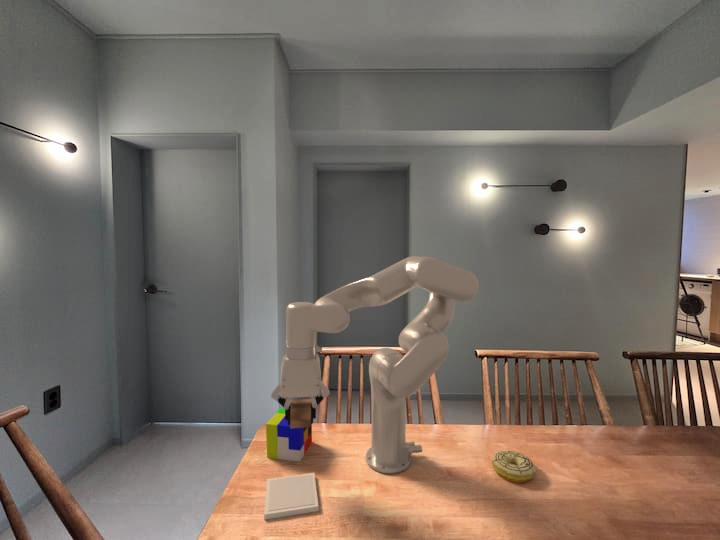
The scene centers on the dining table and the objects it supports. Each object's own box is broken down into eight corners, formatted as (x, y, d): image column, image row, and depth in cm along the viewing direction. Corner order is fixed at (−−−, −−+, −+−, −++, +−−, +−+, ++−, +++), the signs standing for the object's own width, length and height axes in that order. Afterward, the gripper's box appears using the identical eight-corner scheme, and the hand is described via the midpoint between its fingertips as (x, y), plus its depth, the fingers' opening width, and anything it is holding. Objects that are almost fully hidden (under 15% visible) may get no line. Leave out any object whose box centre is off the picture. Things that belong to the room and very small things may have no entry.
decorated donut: (542, 473, 95) (542, 459, 94) (524, 492, 88) (525, 477, 87) (504, 455, 102) (504, 443, 102) (485, 471, 95) (485, 458, 95)
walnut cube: (310, 417, 94) (310, 399, 93) (310, 427, 89) (311, 407, 88) (290, 418, 93) (291, 400, 92) (290, 428, 88) (290, 408, 87)
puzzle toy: (300, 461, 100) (299, 427, 99) (267, 457, 102) (266, 424, 101) (311, 442, 109) (311, 410, 109) (281, 438, 111) (280, 407, 111)
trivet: (314, 477, 93) (314, 472, 93) (318, 511, 81) (318, 505, 81) (267, 483, 91) (266, 478, 91) (264, 519, 79) (264, 514, 79)
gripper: (333, 346, 94) (332, 412, 96) (267, 348, 92) (267, 416, 93) (336, 355, 87) (335, 427, 88) (264, 357, 84) (264, 431, 86)
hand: (300, 420), depth 91 cm, fingers closed on walnut cube, 5 cm apart
